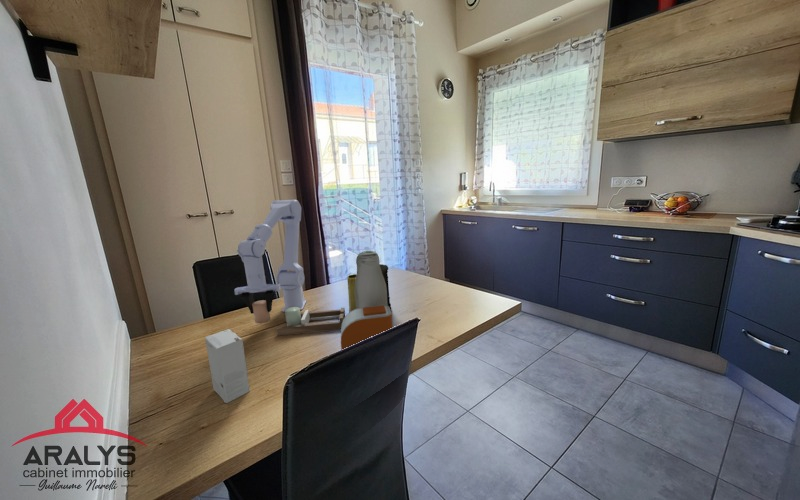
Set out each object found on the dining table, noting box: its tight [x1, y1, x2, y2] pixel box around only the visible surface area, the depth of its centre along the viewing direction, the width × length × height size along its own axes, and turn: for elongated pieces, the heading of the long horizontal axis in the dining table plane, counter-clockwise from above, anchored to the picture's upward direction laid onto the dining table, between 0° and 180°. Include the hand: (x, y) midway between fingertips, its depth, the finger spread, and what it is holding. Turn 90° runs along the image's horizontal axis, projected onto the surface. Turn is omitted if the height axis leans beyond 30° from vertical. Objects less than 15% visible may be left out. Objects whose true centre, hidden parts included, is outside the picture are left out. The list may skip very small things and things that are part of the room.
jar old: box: [284, 307, 302, 326], centre depth 107 cm, size 5×5×6 cm
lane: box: [276, 307, 346, 336], centre depth 108 cm, size 11×22×4 cm, turn 97°
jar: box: [252, 299, 271, 324], centre depth 105 cm, size 5×5×6 cm
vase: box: [346, 273, 357, 313], centre depth 118 cm, size 6×6×14 cm
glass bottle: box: [354, 250, 387, 309], centre depth 98 cm, size 10×10×28 cm
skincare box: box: [204, 328, 250, 404], centre depth 74 cm, size 8×6×15 cm
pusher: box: [301, 309, 340, 325], centre depth 109 cm, size 8×14×4 cm, turn 97°
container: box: [380, 263, 392, 311], centre depth 115 cm, size 9×9×18 cm
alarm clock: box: [340, 305, 393, 351], centre depth 88 cm, size 15×8×14 cm, turn 100°
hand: (261, 311), depth 105 cm, fingers closed on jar, 5 cm apart
